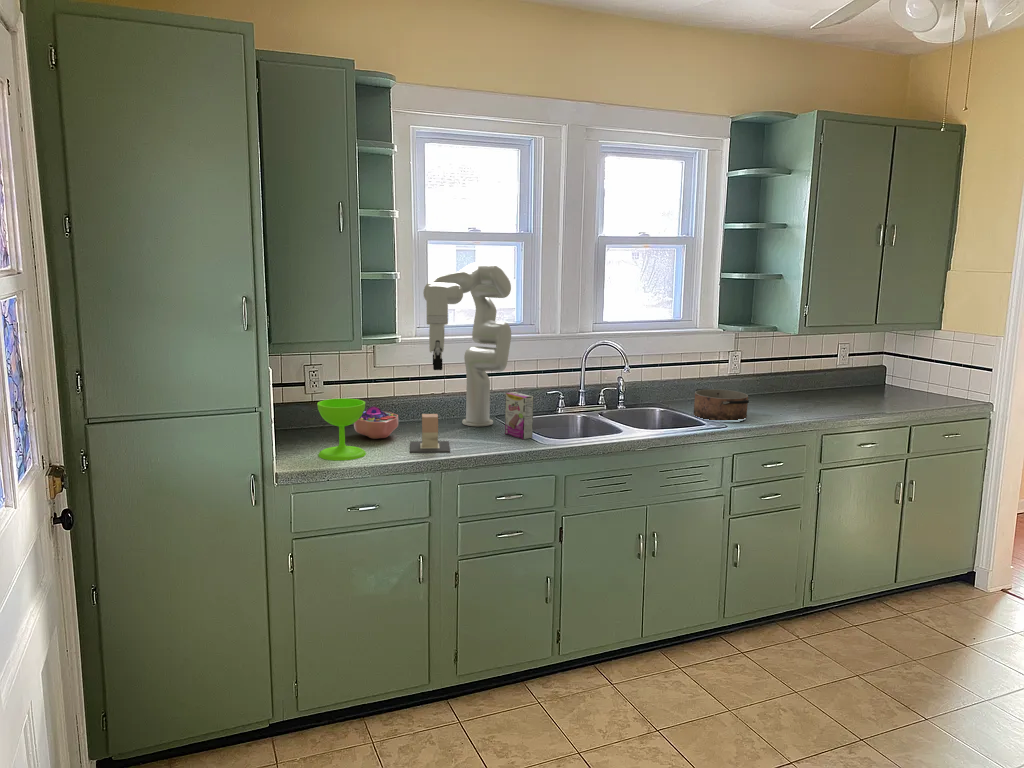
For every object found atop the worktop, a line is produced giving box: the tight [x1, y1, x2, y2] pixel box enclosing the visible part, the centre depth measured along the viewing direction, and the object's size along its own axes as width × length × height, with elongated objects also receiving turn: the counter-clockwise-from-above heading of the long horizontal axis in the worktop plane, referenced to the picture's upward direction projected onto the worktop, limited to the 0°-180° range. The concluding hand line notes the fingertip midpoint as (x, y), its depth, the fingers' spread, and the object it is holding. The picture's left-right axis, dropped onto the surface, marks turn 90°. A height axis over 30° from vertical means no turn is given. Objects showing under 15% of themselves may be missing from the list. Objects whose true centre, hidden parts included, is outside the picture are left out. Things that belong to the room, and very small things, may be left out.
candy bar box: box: [504, 391, 534, 440], centre depth 296 cm, size 11×5×16 cm, turn 41°
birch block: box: [421, 431, 439, 448], centre depth 277 cm, size 6×6×6 cm
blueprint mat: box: [409, 440, 451, 454], centre depth 277 cm, size 14×14×1 cm
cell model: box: [353, 405, 399, 440], centre depth 290 cm, size 17×20×11 cm
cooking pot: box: [693, 388, 750, 420], centre depth 338 cm, size 30×22×11 cm
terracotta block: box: [421, 413, 439, 434], centre depth 276 cm, size 6×6×6 cm
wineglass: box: [316, 397, 367, 462], centre depth 264 cm, size 16×16×18 cm
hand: (437, 367), depth 278 cm, fingers open, 9 cm apart
